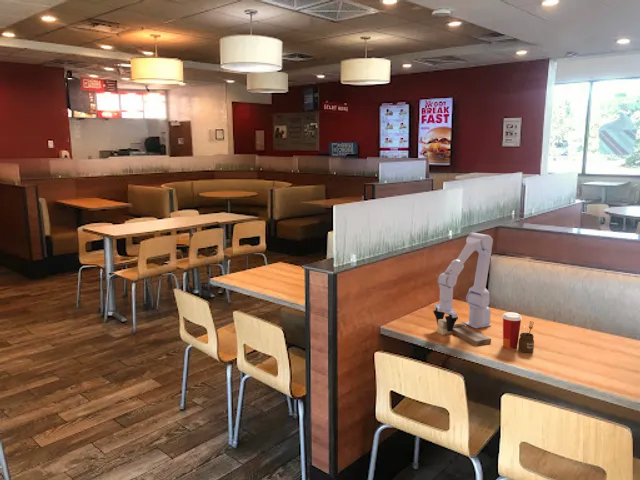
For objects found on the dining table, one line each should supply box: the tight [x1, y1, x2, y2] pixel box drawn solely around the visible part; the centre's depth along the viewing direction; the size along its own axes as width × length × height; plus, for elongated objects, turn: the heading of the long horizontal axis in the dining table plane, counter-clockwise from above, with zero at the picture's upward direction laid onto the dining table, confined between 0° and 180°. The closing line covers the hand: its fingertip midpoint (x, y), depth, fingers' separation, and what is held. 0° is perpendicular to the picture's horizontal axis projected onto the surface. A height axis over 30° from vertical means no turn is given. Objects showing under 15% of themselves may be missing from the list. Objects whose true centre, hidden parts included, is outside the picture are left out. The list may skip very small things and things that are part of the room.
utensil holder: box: [517, 320, 535, 354], centre depth 210 cm, size 6×6×12 cm
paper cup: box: [501, 311, 523, 350], centre depth 214 cm, size 8×8×14 cm
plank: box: [452, 324, 492, 346], centre depth 228 cm, size 8×22×2 cm, turn 21°
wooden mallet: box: [437, 317, 466, 336], centre depth 233 cm, size 13×4×6 cm, turn 111°
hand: (444, 328), depth 231 cm, fingers open, 7 cm apart
